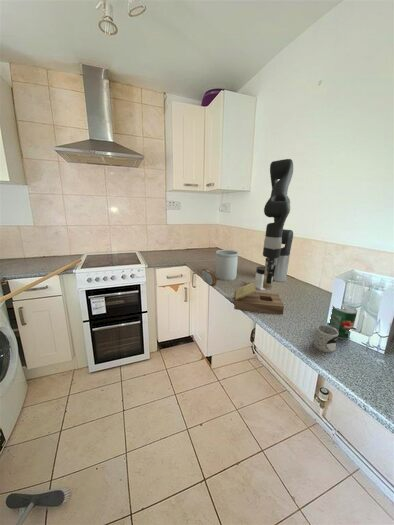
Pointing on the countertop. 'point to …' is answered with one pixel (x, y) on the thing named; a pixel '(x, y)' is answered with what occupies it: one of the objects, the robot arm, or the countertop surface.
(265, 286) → the peg
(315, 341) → the mug
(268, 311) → the block
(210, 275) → the brown oval frame
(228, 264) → the utensil holder
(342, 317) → the canned tomato
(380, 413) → the countertop surface
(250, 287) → the latch flap
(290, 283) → the countertop surface
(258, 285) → the jar
